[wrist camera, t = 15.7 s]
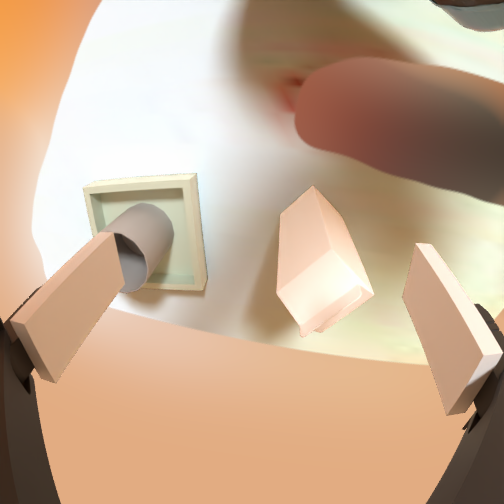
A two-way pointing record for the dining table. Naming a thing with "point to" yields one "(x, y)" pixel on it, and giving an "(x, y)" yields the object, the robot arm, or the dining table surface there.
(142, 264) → the cup
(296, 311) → the milk
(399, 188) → the dining table surface
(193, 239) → the bin
